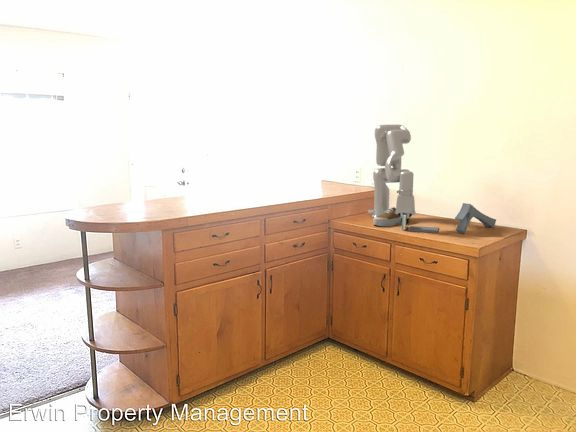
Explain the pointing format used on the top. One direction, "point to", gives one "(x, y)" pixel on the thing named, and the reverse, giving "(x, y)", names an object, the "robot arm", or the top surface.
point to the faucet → (467, 214)
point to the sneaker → (387, 218)
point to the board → (404, 221)
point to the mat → (423, 229)
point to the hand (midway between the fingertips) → (404, 224)
